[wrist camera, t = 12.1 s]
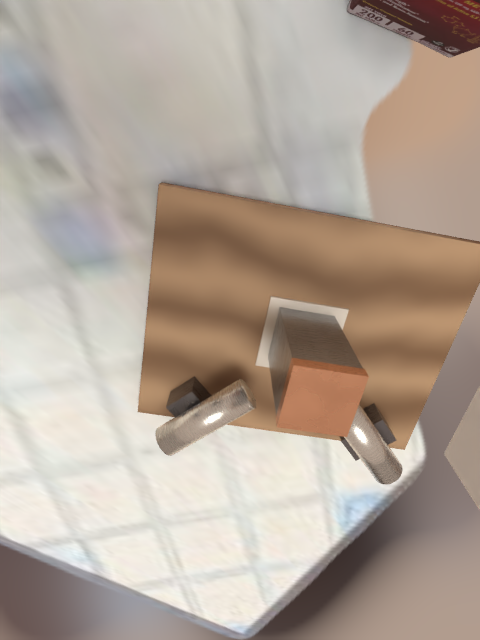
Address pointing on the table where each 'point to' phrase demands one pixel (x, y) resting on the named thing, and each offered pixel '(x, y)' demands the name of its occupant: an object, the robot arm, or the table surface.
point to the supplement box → (427, 21)
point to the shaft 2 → (373, 444)
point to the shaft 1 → (201, 412)
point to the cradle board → (298, 300)
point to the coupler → (314, 374)
